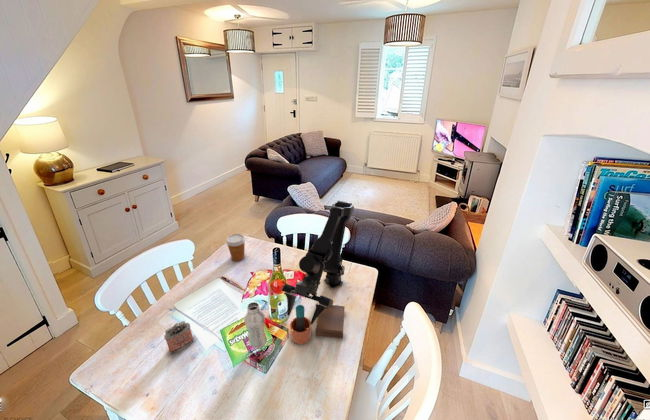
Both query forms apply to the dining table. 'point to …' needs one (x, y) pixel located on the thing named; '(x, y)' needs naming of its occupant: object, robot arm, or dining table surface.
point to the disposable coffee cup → (236, 246)
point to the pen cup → (300, 336)
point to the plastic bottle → (255, 325)
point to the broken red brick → (178, 337)
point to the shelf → (331, 322)
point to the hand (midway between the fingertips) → (299, 319)
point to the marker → (300, 318)
